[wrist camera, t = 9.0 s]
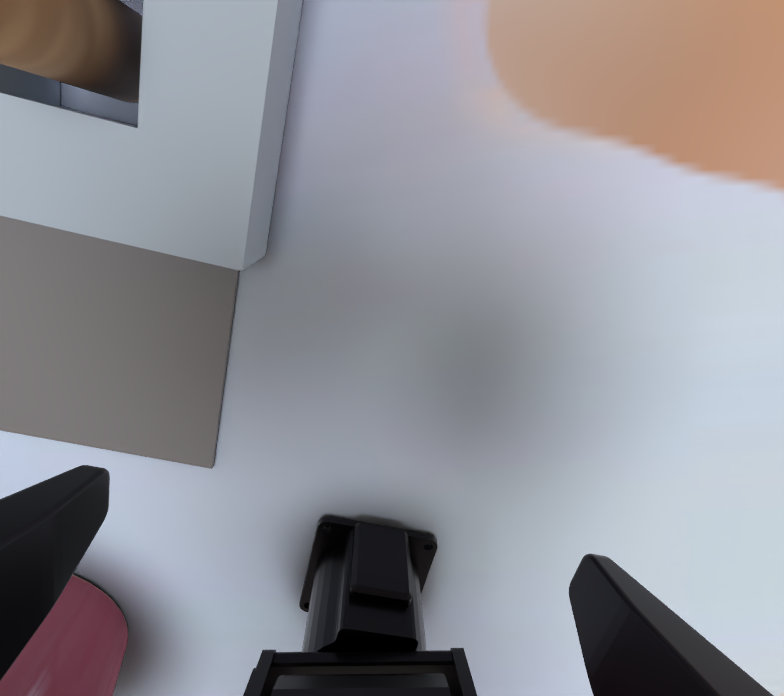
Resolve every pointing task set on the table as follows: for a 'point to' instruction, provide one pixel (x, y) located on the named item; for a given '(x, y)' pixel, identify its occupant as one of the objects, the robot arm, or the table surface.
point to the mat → (112, 344)
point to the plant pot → (72, 647)
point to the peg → (75, 43)
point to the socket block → (164, 137)
